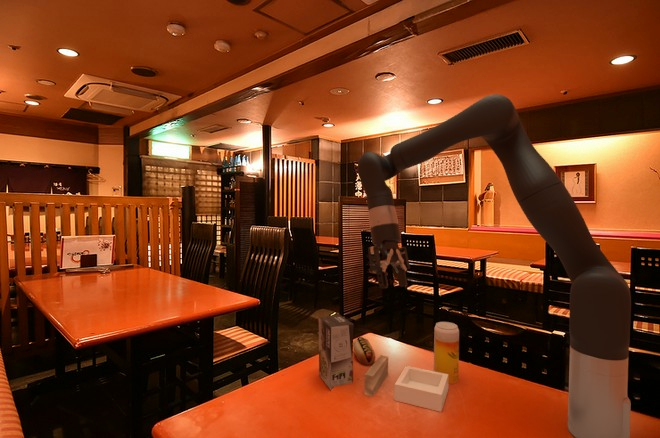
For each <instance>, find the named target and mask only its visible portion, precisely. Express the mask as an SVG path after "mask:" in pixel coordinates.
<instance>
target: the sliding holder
mask: <svg viewBox="0 0 660 438" xmlns="http://www.w3.org/2000/svg"><path fill="white" fill-rule="evenodd" d="M448 378H449V374H444V373H440V372H435V371H434V370H429V369H423V368H419V367H414V366H410V365H405V367H404V369H402V372H401V373H400V375H399V376H398V377H397V379H396V381H395V383H394V396H393V397H394V399H393V400H394V401H396V402H401V403H404V404H408V405H411V406H416V407H420V408H424V409H427V410H431V411H436V412H440V413H442V411H443V407H444V405H445V401H446V399H447V395H448V392H449V384H448Z"/></svg>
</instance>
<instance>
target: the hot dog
mask: <svg viewBox="0 0 660 438" xmlns="http://www.w3.org/2000/svg"><path fill="white" fill-rule="evenodd" d="M353 352H354V354H355V357H356V359H357V360H358V361H359V363H360V364H362V365H363V366H372V365H373V364H374V363H375V362H376V353H375V351H374V349H373V346H372V345H371V343H370V342H369V340H368V339H367V338H364V337H363V336H359V337H357V338H356V339H354V340H353Z"/></svg>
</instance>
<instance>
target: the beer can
mask: <svg viewBox="0 0 660 438" xmlns="http://www.w3.org/2000/svg"><path fill="white" fill-rule="evenodd" d="M433 330H434V331H433V334H434V335H433V336H434V338H433V341H434V342H433V371H435V372H440V373H444V374H449V378H448V385H454V384H457V383H459V374H460V373H459V367H460V366H459V364H460V363H459V360H460V329H459V326H458V325H457V324H455V323H454V322H449V321H439V322H436V323H435V326H434V329H433Z"/></svg>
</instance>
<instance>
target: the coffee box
mask: <svg viewBox="0 0 660 438" xmlns="http://www.w3.org/2000/svg"><path fill="white" fill-rule="evenodd" d="M318 373H319V374H318V376H319V377H320V378H321V380H322V381H323V382H324V384H325V385H326V386H327V387H328V389H330V391H333V390H334V388H336V387H338V386H339V387H340V386H345V385H348V384H349V385H350V384H353V383H354V323H353V322H351V321H350V320H349V319H347V318H346V317H344V316H342V315H341V314H332V315H327V316H321V317H320V316H319V317H318Z"/></svg>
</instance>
